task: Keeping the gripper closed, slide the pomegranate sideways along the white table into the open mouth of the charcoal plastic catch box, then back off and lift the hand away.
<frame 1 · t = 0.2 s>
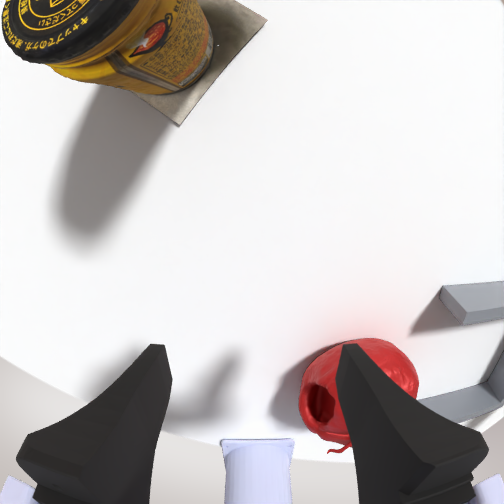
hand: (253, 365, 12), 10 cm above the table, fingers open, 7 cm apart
pomegranate: (349, 365, 25), on the table
condiment: (177, 41, 15), on the table
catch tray: (473, 348, 25), on the table
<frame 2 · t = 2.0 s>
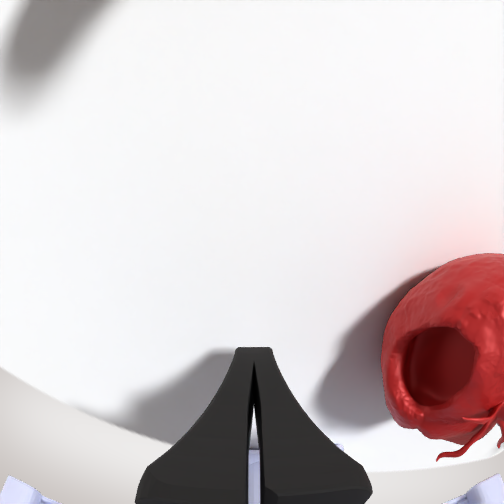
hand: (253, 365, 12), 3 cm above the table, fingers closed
pomegranate: (442, 313, 15), on the table
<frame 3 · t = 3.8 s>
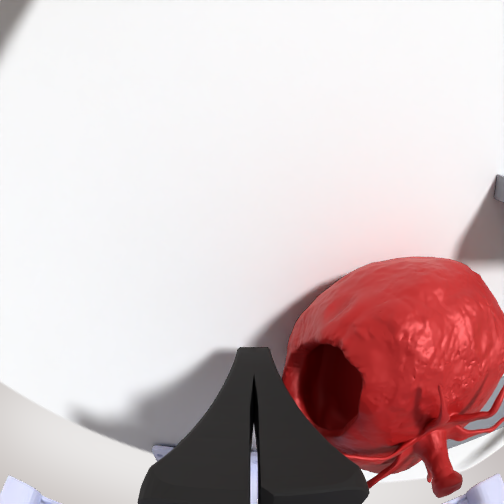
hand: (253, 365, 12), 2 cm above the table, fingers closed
pomegranate: (374, 323, 14), on the table, touching gripper
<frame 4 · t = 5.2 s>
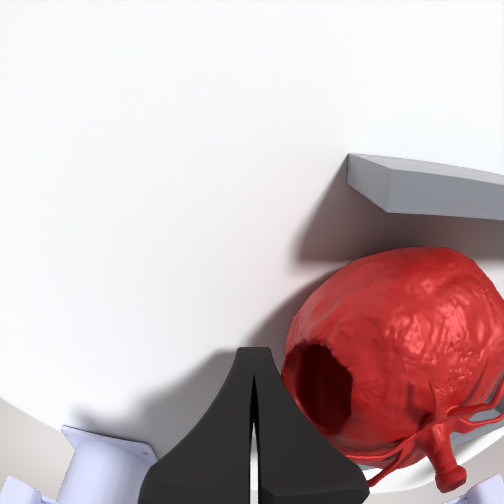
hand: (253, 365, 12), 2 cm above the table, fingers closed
pomegranate: (374, 316, 14), on the table, touching gripper
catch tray: (454, 317, 14), on the table
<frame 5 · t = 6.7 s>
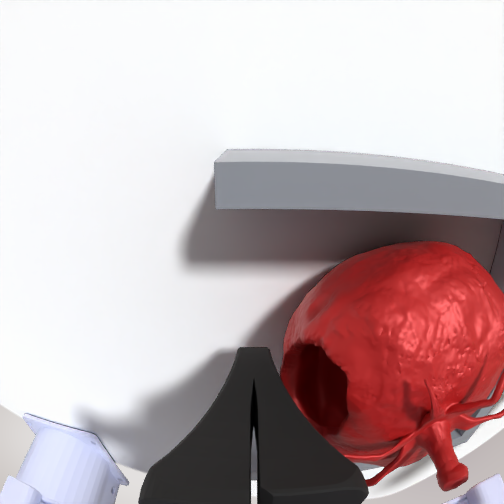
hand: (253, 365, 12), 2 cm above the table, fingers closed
pomegranate: (373, 313, 14), on the table, touching gripper
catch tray: (385, 324, 14), on the table
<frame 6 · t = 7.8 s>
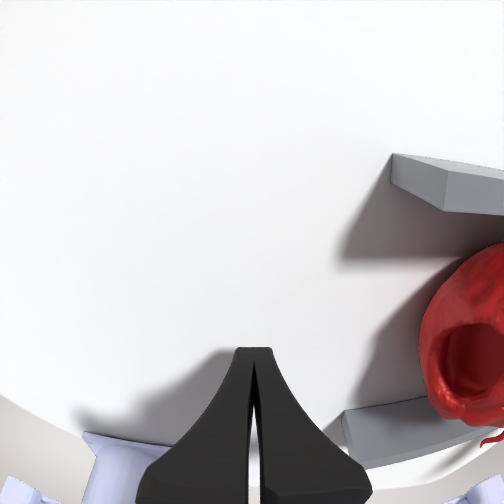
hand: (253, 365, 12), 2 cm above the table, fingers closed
pomegranate: (472, 301, 14), on the table
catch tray: (480, 311, 14), on the table
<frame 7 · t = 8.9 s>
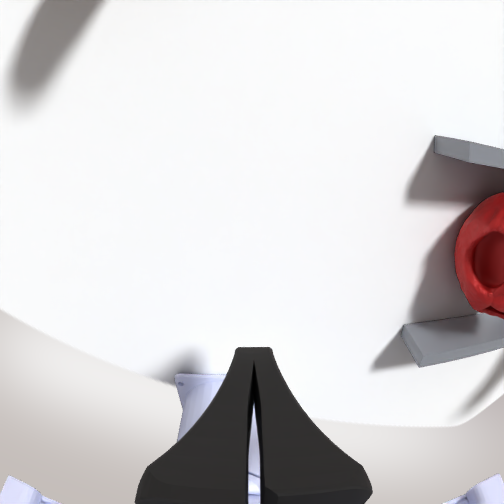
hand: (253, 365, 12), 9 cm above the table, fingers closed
pomegranate: (485, 238, 20), on the table
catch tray: (491, 246, 20), on the table
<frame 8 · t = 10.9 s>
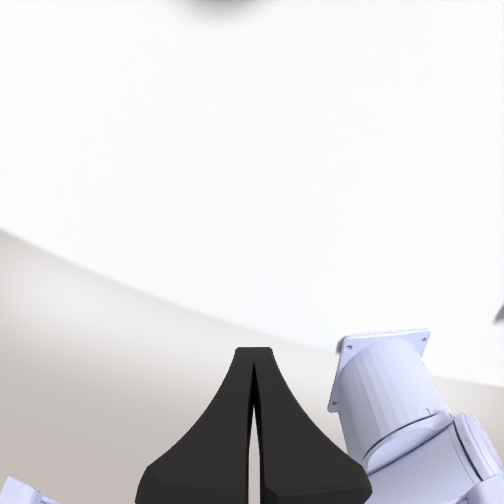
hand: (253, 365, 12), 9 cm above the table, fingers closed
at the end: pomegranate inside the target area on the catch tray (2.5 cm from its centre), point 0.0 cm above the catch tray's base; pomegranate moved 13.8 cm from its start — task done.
